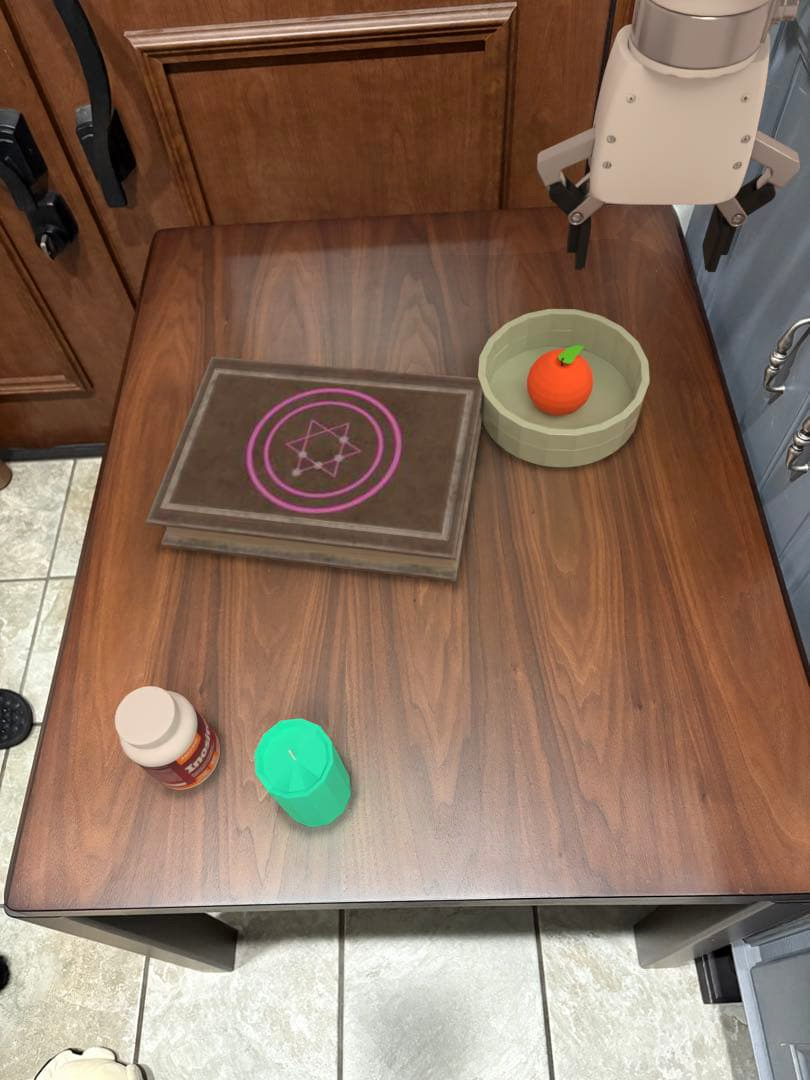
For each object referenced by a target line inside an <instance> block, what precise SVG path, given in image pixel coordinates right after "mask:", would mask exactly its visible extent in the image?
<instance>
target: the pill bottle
mask: <svg viewBox="0 0 810 1080" xmlns="http://www.w3.org/2000/svg"><path fill="white" fill-rule="evenodd" d="M114 727H115V730H116V732H117V734H118V737H119V742H120V746H121V749H122V750H123V752H124V754H125V755H126V756H127V757H128V758H129V759H130V760H131V761H132V762H133V763H135V764H136V765H137V766H139V767H140V768H141V769H142V770H144V771H145V772H146V773H147V774H149V775H150V776H151V777H152V778H154V780H156V781H157V782H158V783H159V784H160V785H163V786H164V787H166V788H169V789H172V790H178V791H183V790H188V789H192V788H195V787H198V786H199V785H201V784H202V783H203V782H205V781H206V780H207V779H208V778H209V777H210V776H212V774H213V772H215V769H216V767H217V765H218V763H219V760H220V755H221V745H220V740H219V738H218V735H217V734H216V732H215V730H214V729H213V728H212V727H211V725H210V724H209V723H208V722H207V721H206V719H205V718H204V717H203V716H202V715H201V714H200V712H199V711H198V710H197V709H196V708H195V706H194V705H193V704H192V703H191V702H190V701H189V700H188V699H187V698H186V697H185V696H184V695H182V694H180V693H178V692H175V691H171V690H165V689H163V688H161V687H159V686H153V685H152V686H151V685H148V686H147V685H145V686H142V687H139V688H136V689H135V690H131V692H129V693H128V694H127V695H126V696H125V697H124V698H123V699H122V700H121V701H120V703H119V705H117V709H116V710H115V715H114Z"/></svg>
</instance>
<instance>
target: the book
mask: <svg viewBox="0 0 810 1080" xmlns="http://www.w3.org/2000/svg"><path fill="white" fill-rule="evenodd" d="M482 397H483V391H482V388H481V385H480V382H479V379H478V377H469V376H457V375H446V374H445V375H443V374H432V373H420V372H419V373H418V372H406V371H397V370H396V371H394V370H385V369H383V370H382V369H368V368H360V367H359V368H357V367H345V366H333V365H321V364H310V363H309V364H308V363H296V362H282V361H273V360H272V361H271V360H260V359H246V358H234V357H223V356H211V357H210V359H209V362H208V364H207V367H206V369H205V372H204V375H203V378H202V379H201V382H200V385H199V387H198V390H197V392H196V394H195V397H194V400H193V402H192V404H191V407H190V410H189V412H188V415H187V417H186V420H185V422H184V425H183V427H182V430H181V433H180V435H179V437H178V440H177V442H176V444H175V447H174V450H173V452H172V454H171V458H170V460H169V463H168V464H167V468H166V469H165V473H164V475H163V478H162V479H161V482H160V484H159V487H158V490H157V492H156V495H155V497H154V500H153V502H152V505H151V507H150V510H149V512H148V515H147V516H146V517H147V518H146V520H145V523H146V524H147V525H148V526H149V525H150V526H156V527H157V526H158V527H165V531H164V534H163V537H162V539H161V542H160V545H161V547H163V548H172V549H179V550H189V551H198V552H207V553H213V554H222V555H231V556H236V557H237V556H238V557H247V558H254V559H263V560H271V561H279V562H288V563H295V564H296V563H297V564H304V565H313V566H321V567H328V568H336V569H346V570H353V571H354V570H355V571H362V572H369V573H370V572H371V573H378V574H387V575H395V576H402V577H403V576H404V577H411V578H418V579H419V578H420V579H427V580H436V581H444V582H452V583H457V581H458V575H459V569H460V563H461V557H462V551H463V544H464V539H465V532H466V525H467V519H468V513H469V508H470V501H471V494H472V488H473V481H474V476H475V470H476V464H477V458H478V453H479V452H478V451H479V445H480V440H481V434H482V433H481V432H482V426H483V424H482V416H481V413H480V409H481V403H482Z"/></svg>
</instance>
